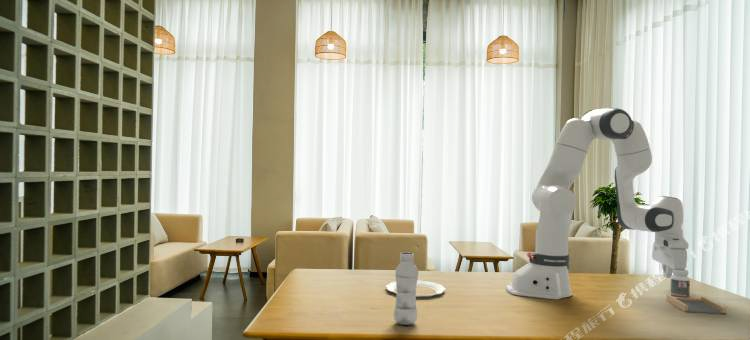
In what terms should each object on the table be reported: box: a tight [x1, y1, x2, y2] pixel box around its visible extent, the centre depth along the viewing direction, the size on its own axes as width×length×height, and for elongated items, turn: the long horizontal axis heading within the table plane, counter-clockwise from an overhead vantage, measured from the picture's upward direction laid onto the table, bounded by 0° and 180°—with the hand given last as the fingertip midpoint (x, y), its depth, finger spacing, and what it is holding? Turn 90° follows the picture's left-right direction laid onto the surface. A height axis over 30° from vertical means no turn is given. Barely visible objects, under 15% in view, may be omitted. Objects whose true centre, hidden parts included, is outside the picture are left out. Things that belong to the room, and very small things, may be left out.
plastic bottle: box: [393, 251, 419, 326], centre depth 135 cm, size 6×7×20 cm
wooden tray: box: [665, 294, 727, 315], centre depth 157 cm, size 12×14×2 cm
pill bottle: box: [669, 269, 691, 298], centre depth 167 cm, size 6×6×10 cm
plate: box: [385, 279, 446, 298], centre depth 170 cm, size 21×21×2 cm
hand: (667, 277), depth 177 cm, fingers closed
